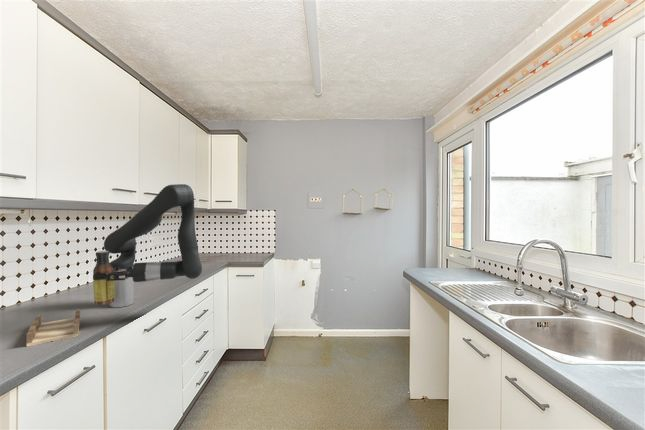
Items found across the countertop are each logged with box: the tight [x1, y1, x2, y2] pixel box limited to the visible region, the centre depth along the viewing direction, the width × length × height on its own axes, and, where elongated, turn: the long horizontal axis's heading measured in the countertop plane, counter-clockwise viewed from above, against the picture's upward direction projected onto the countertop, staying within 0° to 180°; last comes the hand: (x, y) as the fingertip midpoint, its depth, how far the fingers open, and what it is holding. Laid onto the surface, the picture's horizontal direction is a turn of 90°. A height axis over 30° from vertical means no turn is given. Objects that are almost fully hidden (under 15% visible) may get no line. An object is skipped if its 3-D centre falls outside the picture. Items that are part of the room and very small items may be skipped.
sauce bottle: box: [92, 250, 115, 306], centre depth 108 cm, size 6×6×20 cm
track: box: [26, 308, 81, 347], centre depth 102 cm, size 20×12×4 cm, turn 39°
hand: (96, 275), depth 107 cm, fingers closed on sauce bottle, 6 cm apart
